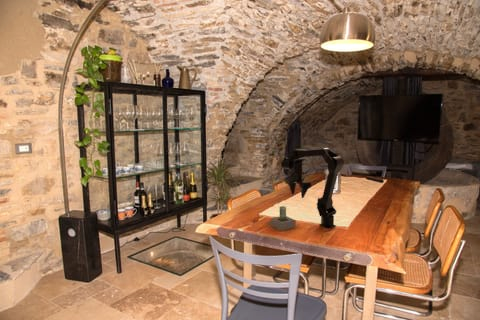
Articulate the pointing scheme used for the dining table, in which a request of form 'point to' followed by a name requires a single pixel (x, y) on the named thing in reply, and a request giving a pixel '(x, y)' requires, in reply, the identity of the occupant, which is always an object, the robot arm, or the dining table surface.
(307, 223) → the dining table surface
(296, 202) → the dining table surface
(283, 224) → the socket block
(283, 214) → the peg
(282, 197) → the dining table surface
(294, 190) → the robot arm
